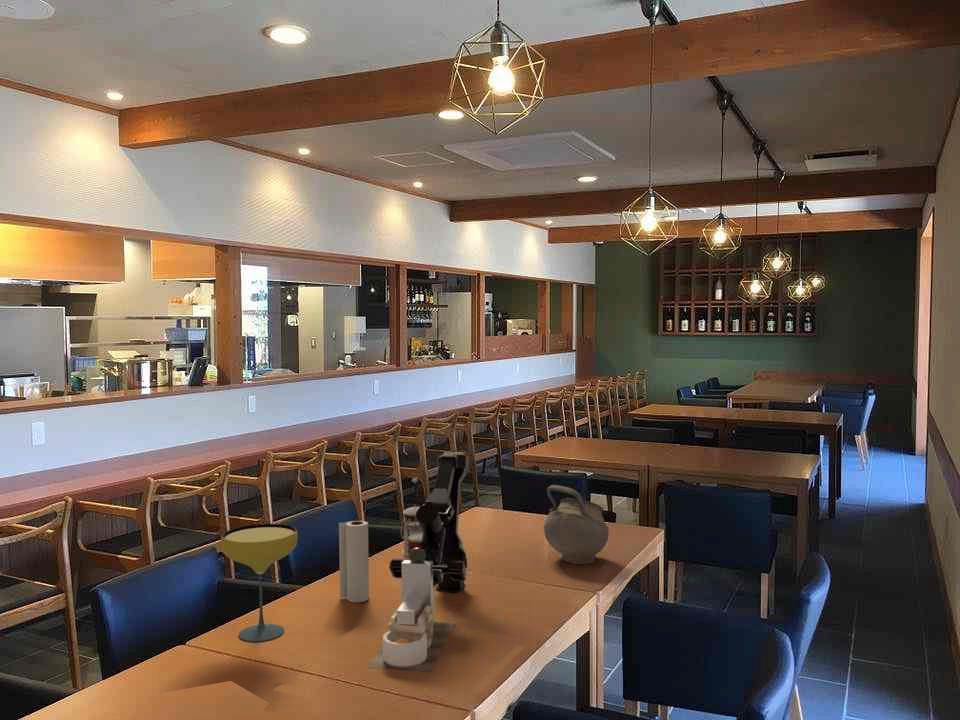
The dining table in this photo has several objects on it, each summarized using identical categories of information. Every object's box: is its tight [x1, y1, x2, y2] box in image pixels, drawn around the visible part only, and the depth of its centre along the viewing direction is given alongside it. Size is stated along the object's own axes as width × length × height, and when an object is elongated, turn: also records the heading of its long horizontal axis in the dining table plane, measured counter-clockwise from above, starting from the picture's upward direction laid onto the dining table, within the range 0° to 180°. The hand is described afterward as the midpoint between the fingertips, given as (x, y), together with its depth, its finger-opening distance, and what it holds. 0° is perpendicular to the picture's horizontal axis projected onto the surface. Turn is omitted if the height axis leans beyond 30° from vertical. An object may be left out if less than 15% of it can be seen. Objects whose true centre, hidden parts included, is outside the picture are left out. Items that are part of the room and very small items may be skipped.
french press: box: [400, 477, 423, 557], centre depth 260 cm, size 10×12×25 cm
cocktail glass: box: [220, 523, 299, 643], centre depth 192 cm, size 18×18×25 cm
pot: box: [543, 484, 610, 565], centre depth 251 cm, size 21×21×25 cm
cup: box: [382, 630, 427, 667], centre depth 175 cm, size 10×10×5 cm
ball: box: [395, 638, 409, 643], centre depth 173 cm, size 4×4×4 cm
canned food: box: [407, 533, 423, 560], centre depth 240 cm, size 8×8×11 cm
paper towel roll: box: [338, 520, 370, 603], centre depth 216 cm, size 7×6×21 cm
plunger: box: [396, 547, 435, 635], centre depth 181 cm, size 13×7×21 cm, turn 171°
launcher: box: [366, 603, 456, 673], centre depth 182 cm, size 28×14×10 cm, turn 171°
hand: (422, 601), depth 191 cm, fingers closed
